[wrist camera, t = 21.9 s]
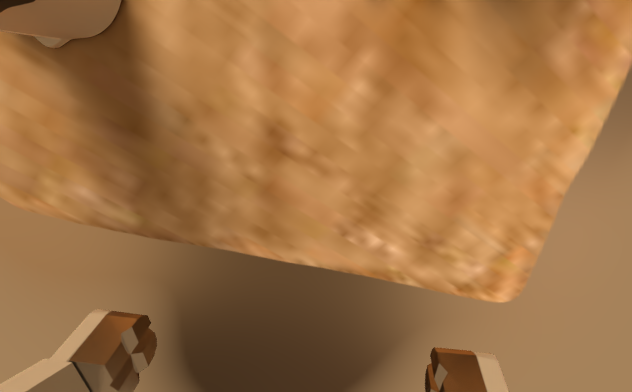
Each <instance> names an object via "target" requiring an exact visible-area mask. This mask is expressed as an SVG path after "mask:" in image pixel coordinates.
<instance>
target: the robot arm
mask: <svg viewBox="0 0 632 392" xmlns="http://www.w3.org/2000/svg"><path fill="white" fill-rule="evenodd" d="M120 3H121V0H0V31H2V32H9V33H16V34H23V35H30V36H34V37H35V38H36V39H37V40H38V41H39V42H41V43H42V44H43V45H44V46H46V47H51V48H59V47H61V46H62V45H64V44H65V43H67V42H68V41H69V40H71V39H76V38H88V37H92V36H95V35H97V34H99V33H101V32H102V31H104V30H105V29H106V28H107V27H108V26H109V25H110V24H111V23H112V21H113V20H114V18H115V16H116V14H117V12H118V10H119V7H120ZM150 324H151V322H150V320H149V317H148V316H147V315H139V314H131V313H124V312H117V311H110V310H101V309H96V310H94V311H93V312H91V313H90V314H89V315H88V316H87V317H86V318H85V319H84V320H83V322H82V323H81V324H80V325H79V326H78V327H77V329H75V331H74V332H73V333H72V334H71V335H70V336H69V337H68V339H67V340H66V341H65V342H64V343H63V344H62V346H61V347H60V348H59V349H58V350H57V351H56V352H55V353H54V355H53V356H52V357H51V358H50V359H43V360H41V361H40V362H38V363H36V364H34V365H33V366H31V367H29V368H28V369H26V370H24V371H22V372H21V373H19V374H17V375H16V376H14V377H12V378H10V379H8V380H7V381H5V382H3V383H1V384H0V392H133V391H134V390H135V388H136V386H137V384H138V383H139V372H141V371H142V370H144V369H145V368H146V367H148V366H149V364H150V362H151V360H152V359H153V357H154V354H155V350H156V347H157V338H156V335H155V333H154V332H153V331H152V330H151V329H149V328H148V327H149V325H150ZM430 357H431V364H429V365H427V369H426V374H425V391H426V392H509V390H508V387H507V384H506V381H505V379H504V376H503V373H502V370H501V368H500V365H499V362H498V359H497V358H496V357H495V356H494V354H491V353H480V352H472V351H467V350H456V349H446V348H435V347H434V348H433V349H432V351H431V355H430Z"/></svg>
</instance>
